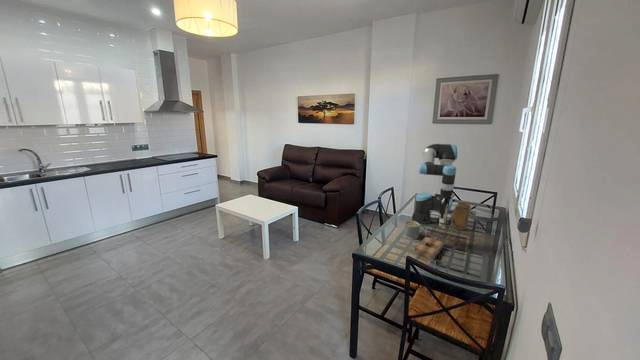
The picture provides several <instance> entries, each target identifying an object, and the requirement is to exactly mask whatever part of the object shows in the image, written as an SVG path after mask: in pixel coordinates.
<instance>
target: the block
mask: <svg viewBox="0 0 640 360" xmlns="http://www.w3.org/2000/svg"><path fill="white" fill-rule="evenodd" d="M470 209H471V205H470V204H469V203H464V202H457V204H455V206H454V209H453V212H452V217H451V222H450V224H451V226H450V227H452V228H454V229H456V230H461V231H465V230H466V229H467V226H468V222H469V216H470V211H471V210H470Z"/></svg>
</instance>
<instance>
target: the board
mask: <svg viewBox="0 0 640 360" xmlns="http://www.w3.org/2000/svg"><path fill="white" fill-rule="evenodd" d="M442 249H444V242H442V241H440V240H437V239H434V238H431V237H428V236H425V237H424V238H423V239H422V240H421V241H420V242H419V243H418V244H417V245H416V246H415V248H414V254H417V255H419V256H423V257H424V258H427V259H430V260H433V261H434V260H435V258H437V256H439V255H438V254H439V253H441V251H442Z"/></svg>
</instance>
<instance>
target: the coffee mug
mask: <svg viewBox="0 0 640 360" xmlns="http://www.w3.org/2000/svg"><path fill="white" fill-rule="evenodd" d="M420 230H421V231H420ZM403 231H404V232H403V235H404V234H405V236H407V237H409V238H413V239H412V240H417V239H418V238H419V236H422V235H424V234H425V228H424V227H422V226H420V223H418V222H415V221H413V220H407V221H405V223H404V230H403ZM405 236H404V237H405Z"/></svg>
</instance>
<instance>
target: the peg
mask: <svg viewBox="0 0 640 360" xmlns="http://www.w3.org/2000/svg"><path fill="white" fill-rule="evenodd" d="M447 210H448V204H447V205H446V208H445V217H444V223H442V222H439V221H438V223H439V224H438V228H439V229H440V230H445V228H446V224H447V223H446V222H447V216H448V215H447V214H448V212H447Z"/></svg>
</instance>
